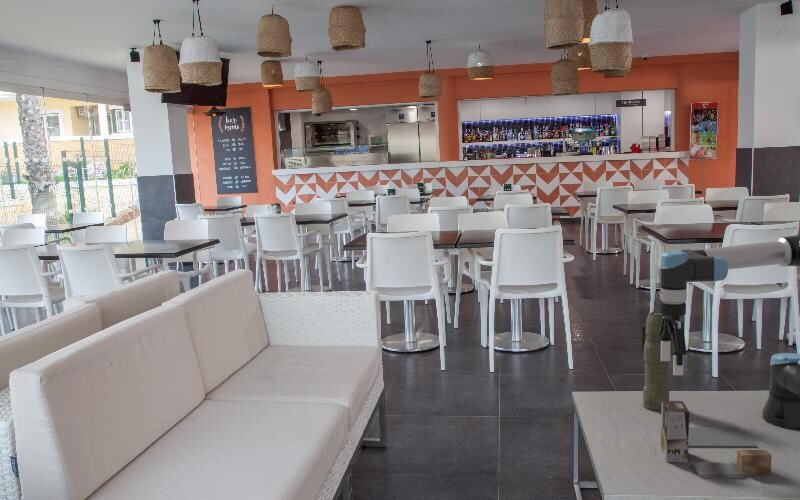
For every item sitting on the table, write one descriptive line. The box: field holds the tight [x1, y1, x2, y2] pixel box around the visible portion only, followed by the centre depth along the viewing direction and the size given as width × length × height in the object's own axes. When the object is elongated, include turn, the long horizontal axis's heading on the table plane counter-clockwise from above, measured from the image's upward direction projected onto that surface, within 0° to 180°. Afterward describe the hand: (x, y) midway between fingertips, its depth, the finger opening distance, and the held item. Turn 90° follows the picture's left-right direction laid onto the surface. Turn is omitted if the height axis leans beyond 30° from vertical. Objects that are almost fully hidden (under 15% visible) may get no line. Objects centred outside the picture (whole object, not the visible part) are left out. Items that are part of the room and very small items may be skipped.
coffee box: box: [660, 400, 690, 464], centre depth 199 cm, size 9×6×16 cm
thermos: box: [640, 311, 675, 413], centre depth 236 cm, size 9×12×35 cm
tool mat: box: [688, 426, 758, 448], centre depth 212 cm, size 24×14×1 cm, turn 85°
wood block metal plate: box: [691, 449, 773, 479], centre depth 189 cm, size 20×7×6 cm, turn 85°
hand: (671, 367), depth 205 cm, fingers open, 13 cm apart
